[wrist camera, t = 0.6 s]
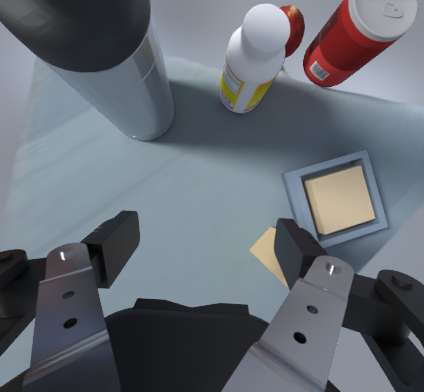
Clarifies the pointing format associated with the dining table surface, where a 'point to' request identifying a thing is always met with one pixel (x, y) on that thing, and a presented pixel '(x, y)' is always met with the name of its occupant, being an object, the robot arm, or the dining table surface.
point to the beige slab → (338, 200)
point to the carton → (268, 253)
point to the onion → (293, 28)
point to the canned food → (356, 37)
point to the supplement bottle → (254, 57)
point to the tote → (351, 160)
